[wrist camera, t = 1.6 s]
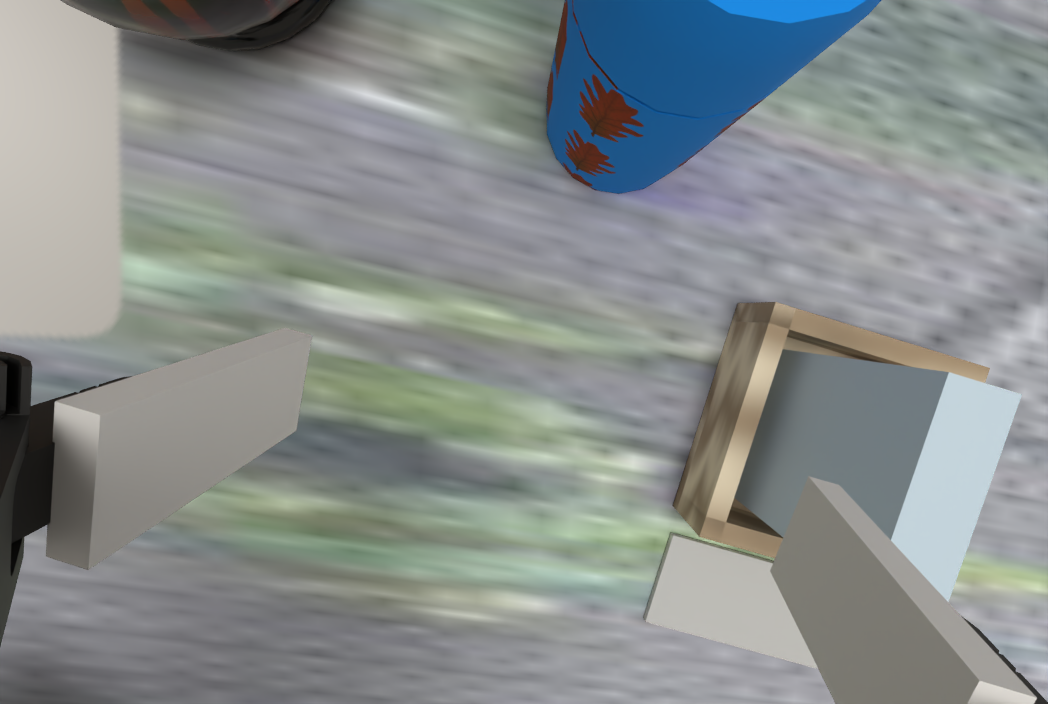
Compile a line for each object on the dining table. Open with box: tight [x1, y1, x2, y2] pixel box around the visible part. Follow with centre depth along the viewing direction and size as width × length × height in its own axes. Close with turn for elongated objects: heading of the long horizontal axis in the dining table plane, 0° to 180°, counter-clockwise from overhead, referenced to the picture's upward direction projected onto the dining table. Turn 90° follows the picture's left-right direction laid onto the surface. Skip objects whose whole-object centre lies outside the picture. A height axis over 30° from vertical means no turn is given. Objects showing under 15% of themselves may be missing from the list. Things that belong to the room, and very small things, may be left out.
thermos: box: [546, 0, 881, 194], centre depth 29 cm, size 11×11×25 cm
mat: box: [644, 532, 817, 669], centre depth 44 cm, size 7×14×1 cm, turn 73°
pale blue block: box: [734, 349, 1022, 602], centre depth 34 cm, size 11×4×17 cm, turn 163°
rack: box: [673, 302, 990, 558], centre depth 41 cm, size 16×15×6 cm
